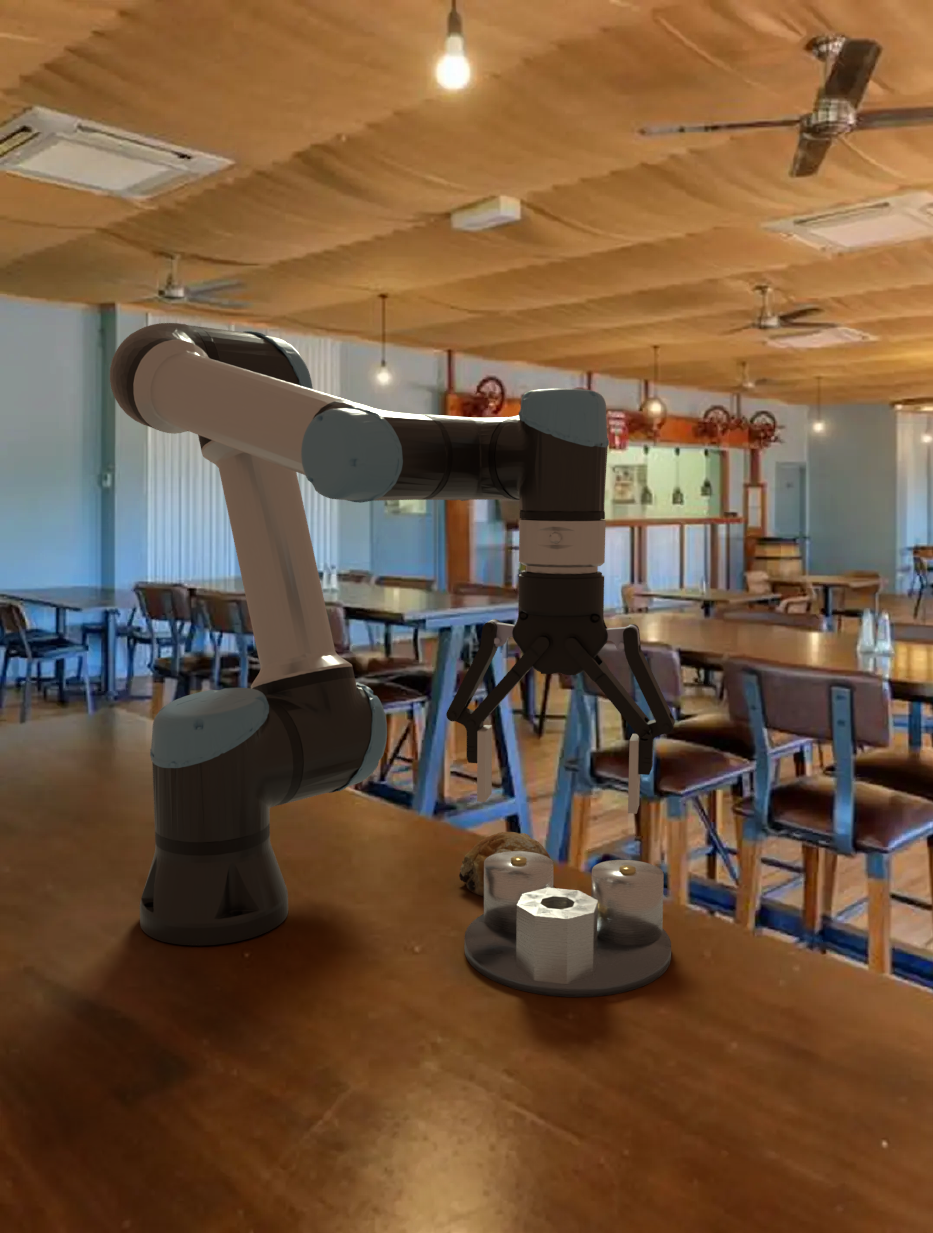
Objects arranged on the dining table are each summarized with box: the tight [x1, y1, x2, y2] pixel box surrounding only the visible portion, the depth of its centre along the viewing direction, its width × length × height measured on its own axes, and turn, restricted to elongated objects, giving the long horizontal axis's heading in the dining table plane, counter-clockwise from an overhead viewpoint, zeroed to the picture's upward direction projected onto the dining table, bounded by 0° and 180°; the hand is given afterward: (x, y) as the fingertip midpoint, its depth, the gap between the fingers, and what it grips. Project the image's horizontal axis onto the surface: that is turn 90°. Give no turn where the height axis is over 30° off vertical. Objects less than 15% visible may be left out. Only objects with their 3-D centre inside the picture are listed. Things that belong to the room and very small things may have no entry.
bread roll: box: [458, 831, 551, 897], centre depth 122 cm, size 10×10×8 cm
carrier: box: [464, 851, 672, 998], centre depth 105 cm, size 20×20×8 cm
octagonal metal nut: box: [516, 887, 598, 984], centre depth 99 cm, size 7×7×6 cm
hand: (557, 803), depth 98 cm, fingers open, 13 cm apart
